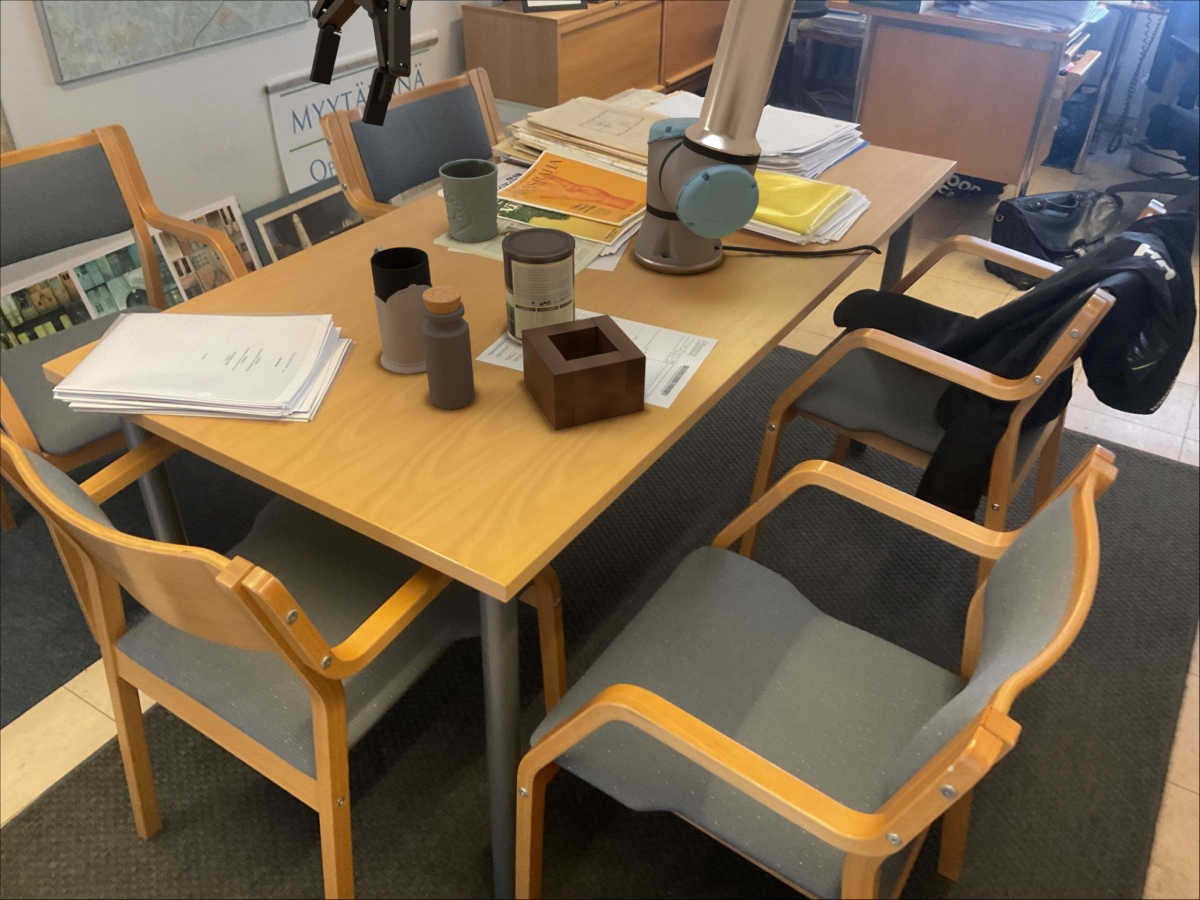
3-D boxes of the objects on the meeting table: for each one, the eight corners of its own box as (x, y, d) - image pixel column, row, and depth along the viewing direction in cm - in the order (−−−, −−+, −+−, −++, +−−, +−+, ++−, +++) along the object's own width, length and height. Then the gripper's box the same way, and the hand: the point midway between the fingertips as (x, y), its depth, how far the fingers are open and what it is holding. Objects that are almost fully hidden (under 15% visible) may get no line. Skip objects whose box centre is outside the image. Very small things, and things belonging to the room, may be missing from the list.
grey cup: (506, 224, 167) (502, 160, 160) (494, 245, 159) (490, 179, 152) (453, 221, 168) (447, 157, 161) (438, 242, 160) (432, 176, 153)
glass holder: (394, 380, 122) (379, 277, 113) (358, 337, 131) (341, 239, 123) (453, 363, 125) (443, 262, 117) (414, 322, 135) (402, 227, 126)
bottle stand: (607, 365, 125) (607, 314, 120) (643, 410, 116) (646, 356, 111) (524, 382, 121) (521, 330, 117) (555, 430, 112) (553, 374, 108)
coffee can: (492, 330, 133) (486, 240, 125) (544, 309, 139) (541, 221, 131) (538, 355, 127) (535, 262, 119) (590, 331, 133) (590, 241, 125)
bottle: (436, 413, 115) (424, 307, 106) (425, 391, 119) (412, 287, 111) (480, 404, 117) (472, 299, 108) (467, 382, 121) (458, 280, 112)
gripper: (307, -112, 111) (274, 61, 121) (417, -47, 99) (370, 138, 109) (359, -93, 117) (323, 71, 127) (470, -30, 104) (420, 145, 115)
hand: (345, 102), depth 118 cm, fingers open, 13 cm apart
